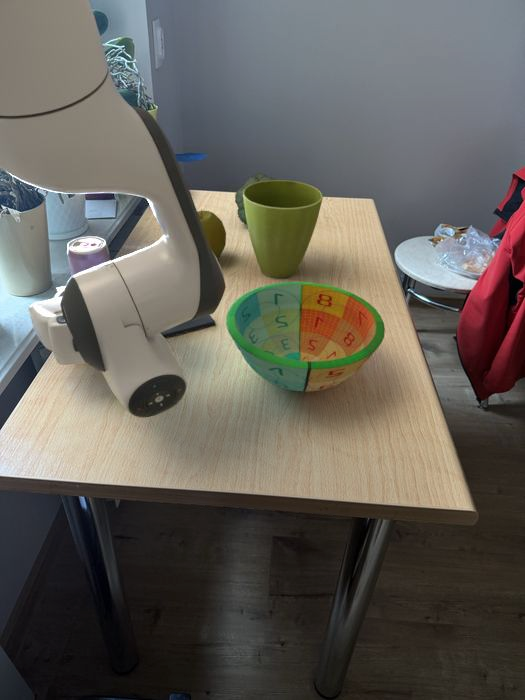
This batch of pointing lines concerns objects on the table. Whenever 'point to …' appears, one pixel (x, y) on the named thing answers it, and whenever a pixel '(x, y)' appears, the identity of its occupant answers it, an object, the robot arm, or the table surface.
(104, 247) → the beverage can
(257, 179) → the vegetable
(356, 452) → the table surface
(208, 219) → the apple
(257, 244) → the flower pot
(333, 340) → the bowl
